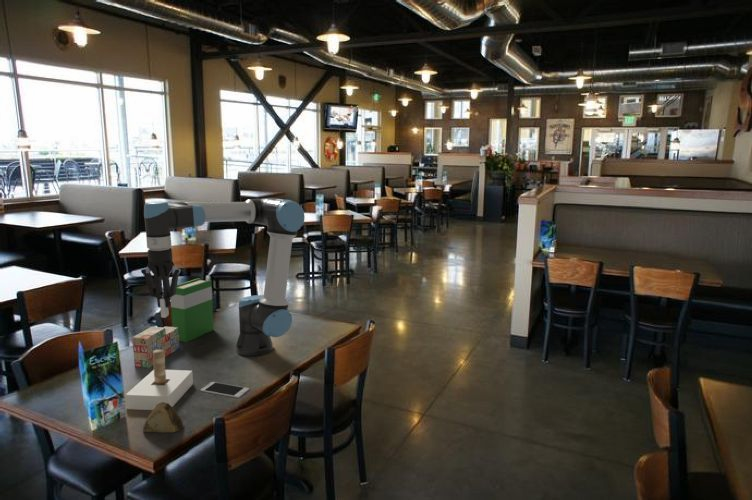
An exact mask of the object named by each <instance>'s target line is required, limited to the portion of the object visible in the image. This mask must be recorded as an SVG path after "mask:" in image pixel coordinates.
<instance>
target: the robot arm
mask: <svg viewBox="0 0 752 500" xmlns="http://www.w3.org/2000/svg"><path fill="white" fill-rule="evenodd" d="M143 206H144V207H143V217H144V227H145V235H146V248H147V259H148V260H147V261H148V263H147V266H146V267H144V268H143V269H141V270H140V273H141V274H142V275H143V276H144V279H145V282H146V285H147V288H148V291H149V294H150V296H151V297H152V298H153V297H154V298H156V300H157V301H156V302H157V303H156V304H157V307H158V308H159V309H160V317H161V318H164V319H165V318H167V317H168V316H170V315H169V314H170V313H169V308H171V297H172V296H174V295H175V294H176V288H177V285H178V283H179V282H178V281H179V275H180V273H181V272H182V268H181V267H179V268H178V267H176V266H175V263H174V262H173V250H172V248H171V247H172V238H171V230H176V229H185V228H187V229H188V228H196V227H202V226H203V225H204V224H205V223H219V222H220V223H221V222H223V223H224V222H226V223H227V222H246V223H247V224H257V225H262V226H267V230H266V233H267V235H269V237H270V238H269V247H268V254H267V262H266V263H267V265H266V272H265V279H264V281H265V282H264V290H263V295H261V294H256V295H250V296H249V295H248V296H245V297H242V298H240V299H239V301H238V318H239V320H238V321H239V324H238V325H239V334H238V338H237V341H236V344H235V352H236V353H237V354H238V355H241V356H244V357H245V356H246V357H257V356H263V355H267V354H269V353H270V352H272V351H273V347H274V346H273V341H272V338H279V337H282V336H284V335H285V334H286V333H288V332H289V330H290V329H291V327H292V324H293V315H292V314H291V313H290V311H289V301H288V300H287V299H286V295H287V286H288V279H289V271H290V270H289V269H290V261H291V253H292V246H293V245H292V244H293V239H295V237H297V236H298V230H300V229H301V227H303V225H304V223H305V211H304V209H303V208H302V206H301V205H300V204H299V203H298V202H297V201H295V200H291V199H284V198H283V199H282V198H277V197H276V198H275V197H264V198H255V199H253V198H252V199H246V200H245V201H216V202H215V201H207V202H206V201H201V202H200V201H199V202H198V201H191V202H190V201H184V202H182V201H180V202H176V201H175V202H172V201H162V200H160V201H159V200H158V201H157V200H155V201H147V202H145V203H144V205H143ZM171 273H172V275H171V281H170V274H171ZM152 274H153V276H152Z"/></svg>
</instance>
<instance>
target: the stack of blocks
mask: <svg viewBox="0 0 752 500" xmlns="http://www.w3.org/2000/svg"><path fill="white" fill-rule="evenodd" d="M178 349H180V341H179V334H178V327H172V326H165V325H164V327H160V326H159V327H158V326H150V327H149V328H147V329H145V330H143V331H142V332H140V333H138V334H136V335H134V336H132V350H133V351H132V352H133V360H134V361H133V362H134V367H136V368H144V369H145V368H146V369H149V368H152V367H154V364H153V351H155V350H164V354H165V358H166V357H168V356H170V355H171V354H172V353H174V352H176V351H177V350H178Z"/></svg>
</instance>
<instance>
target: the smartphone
mask: <svg viewBox="0 0 752 500" xmlns="http://www.w3.org/2000/svg"><path fill="white" fill-rule="evenodd" d="M249 390H250V388H249V387H244V386H239V385H235V384H234V385H233V384H227V383H221V382H216V381H211V382H209V383H208V384H207V385H205V386H203V387H202V388H201V389H200V392H203V393H208V394H214V395H219V396H220V395H221V396H225V397H230V398H235V399H239V398H241V397H242V396H243V395H245V394H246V393H247V392H249Z"/></svg>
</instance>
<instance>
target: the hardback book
mask: <svg viewBox="0 0 752 500" xmlns="http://www.w3.org/2000/svg"><path fill="white" fill-rule="evenodd" d="M212 283H213V282H212V279H208V280H202V279H201V278H200V277H197V278H194V279H192V280H188V281H185V282H181V283H177V288H176V294H175V295H174V296H172V297H170V304H171V305H170V308H171V309H170V310H171V312H170V313H171V327H178V334H179V342H183V343H187V342H191V341H192V340H195V339H197V338H198V337H201V336H203V335H206V334H208V333H210V332H212V331H214V313H213V312H214V309H213V288H212V286H213V285H212ZM205 333H206V334H205Z"/></svg>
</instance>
